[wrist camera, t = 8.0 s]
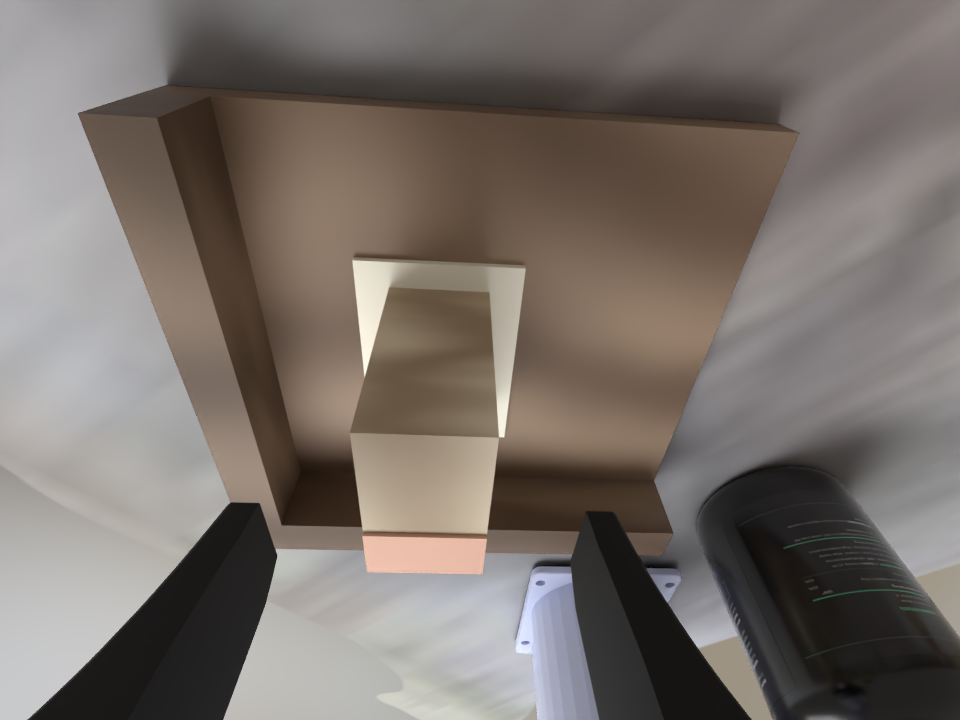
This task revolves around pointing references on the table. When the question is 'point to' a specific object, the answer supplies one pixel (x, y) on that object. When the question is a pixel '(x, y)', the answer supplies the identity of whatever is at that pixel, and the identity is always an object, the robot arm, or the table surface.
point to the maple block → (427, 434)
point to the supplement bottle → (826, 603)
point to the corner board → (436, 283)
